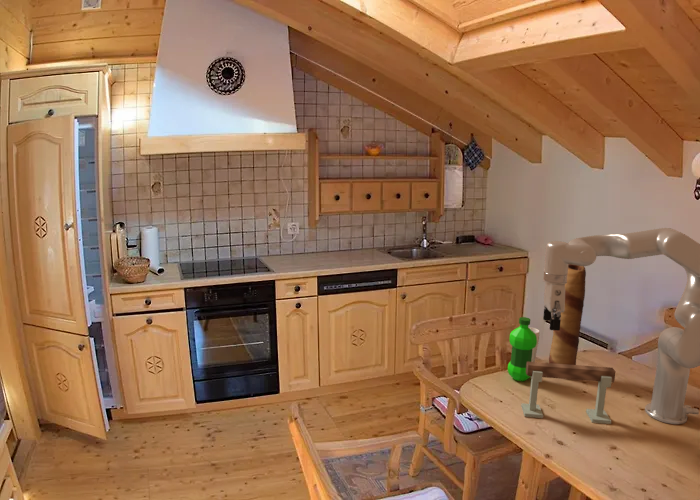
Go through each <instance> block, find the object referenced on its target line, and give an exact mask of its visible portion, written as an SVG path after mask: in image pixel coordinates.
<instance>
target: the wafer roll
mask: <svg viewBox="0 0 700 500" xmlns="http://www.w3.org/2000/svg"><path fill="white" fill-rule="evenodd" d="M586 276H587V270H586V266H577V265H571V264H568V275H567V283H566V284H565V309H564V312H563V313H562V312H561V322H560V330H559V331H557V330H552V333H553V334H552V340H551V344H550V350H549V357H548V363H555V364H569V365H577V357H578V356H577V355H578V351H579V344H580V332H581V328H582V327H581V326H582V317H583V310H584V306H585V305H584V304H585V303H584V302H585V295H586Z"/></svg>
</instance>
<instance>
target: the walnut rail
mask: <svg viewBox="0 0 700 500" xmlns="http://www.w3.org/2000/svg"><path fill="white" fill-rule="evenodd" d="M533 371H542V372H543V375H542V378H548V379H563V380H572V381H576V380H577V381H587V382H598V381H599V382H600V381H601V376H611V377H612V382H611V384H612V383H615V378H616V370H615V369H614V367H608V366H607V367H606V366H594V365H579V364H576V365H569V364H555V363H549V362H540V361H535V362H527V364H526V374H527V376H532V373H533Z"/></svg>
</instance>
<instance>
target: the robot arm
mask: <svg viewBox="0 0 700 500" xmlns="http://www.w3.org/2000/svg"><path fill="white" fill-rule="evenodd" d="M544 255H545V257H544V266H543V279H542V280H543V281H542V282H544V283H545V285H544V294H543V295H544V296H543V304H544V306H543V307H544V309H543V316H542V317H543V321H549V331H553V330H557V331H559V330H560V322H561V312H562V313H563V312H564V309H565V284H566V283H567V275H568V264H571V265H577V266H584V267H589V266H590V265H593V264H594V262H596V259H597V257H613V258H616V259H617V258H618V259H622V260H623V259H624V260H632V259H633V260H634V259H639V258H647V257H653V256H654V257H655V256H660V255H663V256H665V257H667V258H669V259H671V260H672V261H673V262H674V263H676V264H678V265H679V266H681V267H682V268H683V269H684V270H685V273H686V276H687V279H686V280H687V281H686V284H685V288H684V290H683V292H682V295H681V297H680V299H679V301H678V303H677V306H676V308H675V311H674V314H673V315H674V318H675V321H676V322H677V323H678V324H679V325H680V326H681V327H683V328H681V327H677V326H670V327H668V328H665V329H663V330H662V331H661V332H660V334H659V337H658V339H657V364H656V369H655V376H654V382H653V388H652V389H653V390H652V394H651V401H650V403H649V402H648V403H647V404H646V405H645V407H644V412H645V413H646V414H647V415H648V416H649V417H651V418H653V419H654V420H657V421H659V422H662V423H665V424H671V425H681V424H685V423H686V422H687V421H688V415H689V414H690V415H699V412H700V411H699V409H698V408H695V407H694V408H692V406H691V405H689V404H688V405H687V404H685V402H686V401H685V400H686V396H687V394H686V393H687V389H688V382H689V378H690V371H691V369H695V368H698V367H700V243H699V242H698V241H696V240H695V239H693V238H691V237H690V236H688V235H686V234H685V233H683V232H681V231H678V230H676V229H673V228H670V227H669V228H668V227H664V228H663V227H661V228H660V227H659V228H656V229H655V228H654V229H649V230H641V231H633V232H628V233H627V232H626V233H613V234H597V235H589V236H581V237H576V238H573V239H571V240H569V242H565V241H559V240H553V241H549V242H547V243H546V245H545V254H544Z"/></svg>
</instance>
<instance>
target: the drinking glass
mask: <svg viewBox="0 0 700 500" xmlns="http://www.w3.org/2000/svg"><path fill="white" fill-rule="evenodd" d="M528 328H530V329H531V330H532V331H533V332H534V333H535V334H536V337H537V344H536V347H534V348H533V349H532V360H531V362H536V356H537V352H538V347H539V341H540V330H539V329H537V328H536V327H531V326H528Z"/></svg>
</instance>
